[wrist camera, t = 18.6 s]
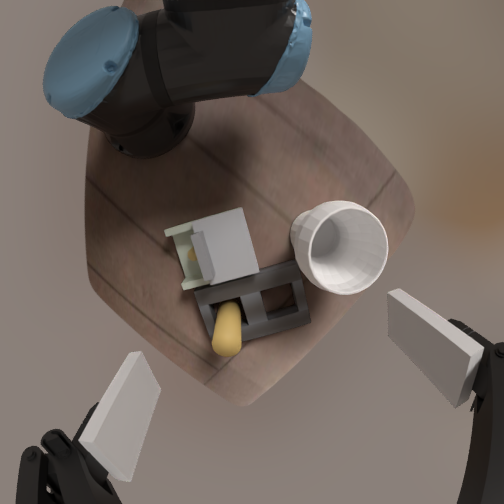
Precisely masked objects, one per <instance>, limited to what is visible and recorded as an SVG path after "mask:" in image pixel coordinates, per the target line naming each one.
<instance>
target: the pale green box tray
mask: <svg viewBox="0 0 504 504" xmlns="http://www.w3.org/2000/svg"><path fill="white" fill-rule="evenodd" d="M239 208H240V207H239ZM235 209H238V208H235ZM232 210H234V209H232ZM228 211H231V210H228ZM225 212H227V211H225ZM221 213H223V212H221ZM218 214H220V213H218ZM214 215H216V214H214ZM211 216H213V215H211ZM207 217H210V216H207ZM204 218H206V217H204ZM200 219H203V218H200ZM197 220H199V219H197ZM194 221H196V220H194ZM191 222H193V221H190V222H187V223H184V224H181V225H177V226H174V227H171V228H169V229H166V230H164V232H165V235H166V237H168V236H171V235H172V236H173V239H174V242H175V246H176V249H177V252H178V255H179V258H180V262H181V265H182V268H183V271H184V274H185V277H186V278H185V279H184V281H183V282H182V284H181V285H182V288H183V290H187V289H191V288H194V287H198V286H202V285H206V284H210V282H209V280H208V281H204V278H203V275H202V272H201V269H200V266H199V262H198V259H197V256H196V253H195V250H194V246H193V243H192V240H191V235H192V234H193V233H194V230H193V227H192V223H191Z"/></svg>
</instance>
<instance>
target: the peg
mask: <svg viewBox="0 0 504 504" xmlns="http://www.w3.org/2000/svg"><path fill="white" fill-rule="evenodd" d="M212 347H213V350H214V351H215V352H216V353H217V354H219V355H221V356H224V357H231V356H234V355H236V354H237V353H238V352H239V351H240V349H241V306H240V303H239V302H238V301H237V300H236V299H234V298H232V299H228V300H225V301H221V302H220V304H219V308H218V313H217V318H216V323H215V329H214V334H213V340H212Z"/></svg>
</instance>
